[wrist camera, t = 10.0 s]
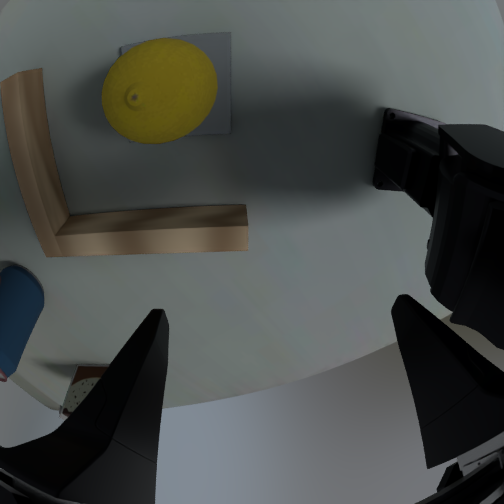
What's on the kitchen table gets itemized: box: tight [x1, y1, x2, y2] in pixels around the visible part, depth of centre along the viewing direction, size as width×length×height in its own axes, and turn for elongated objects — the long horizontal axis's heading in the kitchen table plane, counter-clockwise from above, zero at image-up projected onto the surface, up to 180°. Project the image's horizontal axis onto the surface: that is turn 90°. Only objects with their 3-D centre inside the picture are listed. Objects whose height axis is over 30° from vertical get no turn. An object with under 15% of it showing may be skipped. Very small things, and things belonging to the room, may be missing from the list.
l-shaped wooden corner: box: [0, 68, 248, 257], centre depth 15 cm, size 17×15×3 cm
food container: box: [59, 364, 109, 420], centre depth 32 cm, size 12×6×10 cm, turn 100°
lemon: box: [102, 38, 218, 144], centre depth 11 cm, size 6×6×8 cm
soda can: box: [0, 265, 44, 382], centre depth 19 cm, size 7×7×12 cm
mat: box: [121, 32, 231, 142], centre depth 14 cm, size 7×7×1 cm
